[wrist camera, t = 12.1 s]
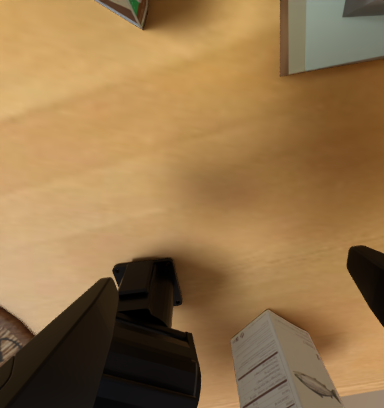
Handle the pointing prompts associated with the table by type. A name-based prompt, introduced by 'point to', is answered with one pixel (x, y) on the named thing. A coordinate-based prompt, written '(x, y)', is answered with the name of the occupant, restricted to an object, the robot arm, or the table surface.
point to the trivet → (11, 336)
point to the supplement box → (280, 367)
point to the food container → (128, 10)
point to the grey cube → (363, 8)
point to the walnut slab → (285, 43)
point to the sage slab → (330, 35)
